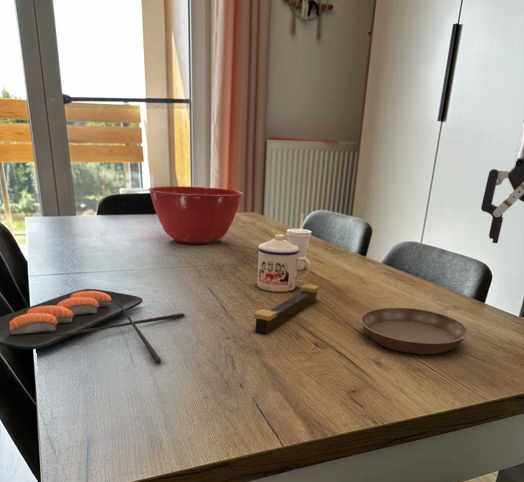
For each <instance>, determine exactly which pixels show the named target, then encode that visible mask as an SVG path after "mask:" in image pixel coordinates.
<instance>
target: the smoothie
mask: <svg viewBox="0 0 524 482" xmlns="http://www.w3.org/2000/svg"><path fill="white" fill-rule="evenodd" d="M304 215H305V213H302V212H301V215H300V228H288V229H287V230H286V235H287V241H289V242H290V243H291V244H293V245H296V246H297V247H298V248H299V253H298V257H304V258H306V259H307V255H308V250H309V249H308V248H309V243H310V240H311V237H312V230H309V229H305V228H303V227H304V217H305V216H304ZM305 264H306V263H305V262H304V261H300V260H297V271H301V270H304V268H305Z"/></svg>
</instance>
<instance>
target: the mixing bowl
mask: <svg viewBox="0 0 524 482" xmlns="http://www.w3.org/2000/svg"><path fill="white" fill-rule="evenodd" d="M147 190H148V191H149V194H150V198H151V201H152V205H153V208H154V210H155V214H156V216H157V218H158V220H159V222H160V225H161V226H162V227H161V228H162V229H163V230H164V232H165V233H166V234H167V236H168V237H170V238H172V239H173V240H174V241H175V242H177V243H182V244H192V245H193V244H194V245H207V244H213V243H217V242H218V241H219V240H221V239H223V237H224V236H225V235H227V233H228V232H229V229H230V228H231V225H232V223H233V222H234V219H235V217H236V215H237V211H238V209H239V205H240V202H241V198H242V195H243V192H242V191H239V190H235V189H229V188H228V189H227V188H218V187H204V186H175V185H173V186H172V185H171V186H169V185H168V186H153V187H149V188H148V189H147Z"/></svg>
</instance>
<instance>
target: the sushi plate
mask: <svg viewBox="0 0 524 482" xmlns="http://www.w3.org/2000/svg"><path fill="white" fill-rule="evenodd" d="M142 303H143V298H142V297H140V296H137V295H133V294H127V293H122V292H116V291H111V290H110V291H109V290H103V289H96V288H95V289H94V288H84V289H79V290H75V291H71V292H69V293H65V294H63V295H60V296H57V297H53V298H51V299H48V300H45V301H42V302H40V303H37V304H34V305H31V306H29V307H25V308H22V309H19V310H17V311H13V312H11V313H8V314H5V315H2V316H0V346H4V347H9V348H14V349H19V350H38V349H42V348H45V347H48V346H51V345H53V344H56V343H59V342H60V341H63V340H65V339H67V338H70V337H72V336H74V335H77V334H83V333H90V332H96V331H101V330H108V329H113V328H114V329H115V328H120V327H128V326H132V327H133V329H134V330H135V332H136V333H137V335H138V336H139V338H140V340H141V341H142V343H143V344H144V346H145V347H146V349H147V351H148V352H149V353H150V355H151V356H152V358H153V359H154V361H155V363H157V364H160V363H161V361H162V360H161V357H160V356H159V354H158V353H157V352H156V350H155V349H154V348H153V346H152V345H151V344H150V343H149V341H148V339H147V338H146V337H145V335H144V334H143V333H142V331H141V330H140V329H139V328H138V326H137V325H140V324H148V323H153V322H154V323H155V322H159V321H160V322H161V321H165V320H173V319H178V318H184V317H185V313H183V312H180V313H173V314H167V315H163V316H157V317H151V318H146V319H145V318H144V319H139V320H135V321H134V320H133V319H132V318H131V316H129V313H127V311H129V310H131V309H134V308H136V307H137V306H139V305H141V304H142ZM122 313H123V314H124V315H125V317H126V318H127V320H128V322H123V323H117V324H111V325H105V326H100V327H99V326H98V327H94V326H96V325H98V324H100V323H103V322H105V321H107V320H109V319H111V318H114V317H116V316H118V315H120V314H122ZM92 327H93V328H92Z"/></svg>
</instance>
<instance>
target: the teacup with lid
mask: <svg viewBox="0 0 524 482" xmlns="http://www.w3.org/2000/svg"><path fill="white" fill-rule="evenodd" d="M257 250H258V258H257V259H258V260H257V261H258V263H257V282H256V285H257V287H258V288H259V289H261V290H263V291H267V292H274V293H275V292H276V293H284V292H286V293H287V292H290V291H294V290H295V288H296V285H297V281H300V280H304V279H306V278H307V277H308V276H309V275H310V273H311V269H312V264H311V261H310V260H309V259H308V258H307V257H306V258H304V257H298V253H299V248H298V247H297V246H296V245H293V244H291V243H290V242H289V241H288V239H287V240H286V239H285V235H284V234H275V235H274V238H272V239H269V240H268V241H266V242H262V243H260V244H259V245H258V248H257ZM297 260H300V261H304V262H305V264H306V267H307V268H306V271H305V273H303V275H297V271H298V270H297Z"/></svg>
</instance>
